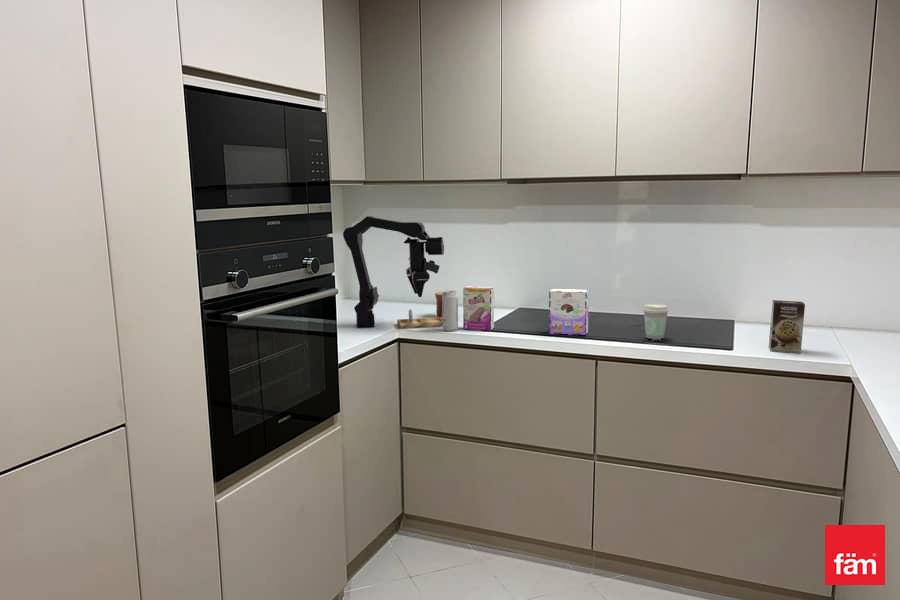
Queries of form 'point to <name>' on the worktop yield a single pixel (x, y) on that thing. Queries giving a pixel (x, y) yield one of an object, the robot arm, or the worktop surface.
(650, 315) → the coffee cup
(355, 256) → the robot arm
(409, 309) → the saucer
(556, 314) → the candy box
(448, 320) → the energy drink can
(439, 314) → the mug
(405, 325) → the rack
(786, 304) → the brown cookie box
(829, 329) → the worktop surface
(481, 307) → the candy bar box
